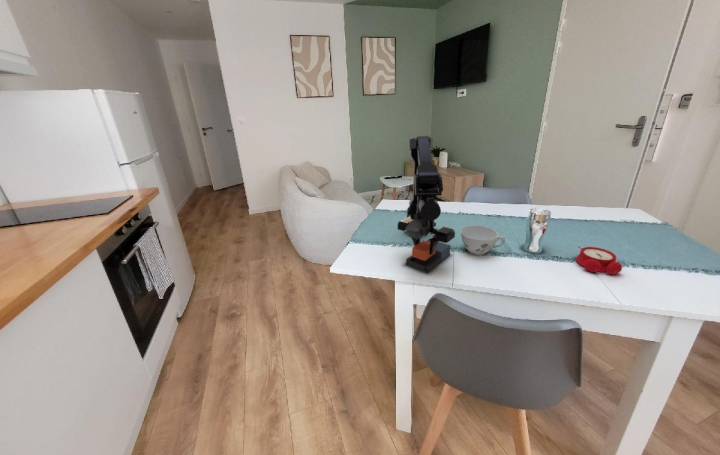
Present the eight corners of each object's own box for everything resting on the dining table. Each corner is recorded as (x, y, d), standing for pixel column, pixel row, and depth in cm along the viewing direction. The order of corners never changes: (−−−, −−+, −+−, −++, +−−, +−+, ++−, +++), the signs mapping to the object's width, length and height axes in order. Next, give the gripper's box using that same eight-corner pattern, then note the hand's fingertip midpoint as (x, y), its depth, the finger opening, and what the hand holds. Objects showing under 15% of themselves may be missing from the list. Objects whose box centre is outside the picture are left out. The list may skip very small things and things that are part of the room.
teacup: (459, 257, 104) (460, 237, 100) (458, 242, 115) (460, 224, 111) (505, 262, 99) (508, 241, 96) (500, 246, 110) (503, 226, 107)
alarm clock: (609, 247, 98) (633, 259, 84) (605, 265, 99) (629, 279, 85) (573, 244, 101) (590, 255, 87) (570, 261, 102) (586, 274, 88)
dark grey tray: (428, 248, 111) (428, 239, 110) (449, 255, 106) (450, 245, 104) (405, 265, 101) (405, 254, 99) (427, 273, 95) (428, 262, 94)
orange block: (422, 249, 104) (423, 240, 102) (435, 253, 100) (435, 244, 99) (411, 256, 99) (412, 247, 98) (424, 261, 96) (425, 251, 94)
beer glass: (537, 245, 110) (545, 207, 104) (547, 253, 103) (556, 214, 97) (518, 245, 110) (525, 207, 104) (526, 253, 104) (534, 214, 98)
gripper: (387, 210, 94) (388, 253, 100) (440, 223, 82) (437, 270, 88) (406, 201, 101) (406, 241, 107) (457, 212, 89) (453, 256, 96)
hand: (423, 252), depth 99 cm, fingers closed on orange block, 5 cm apart
